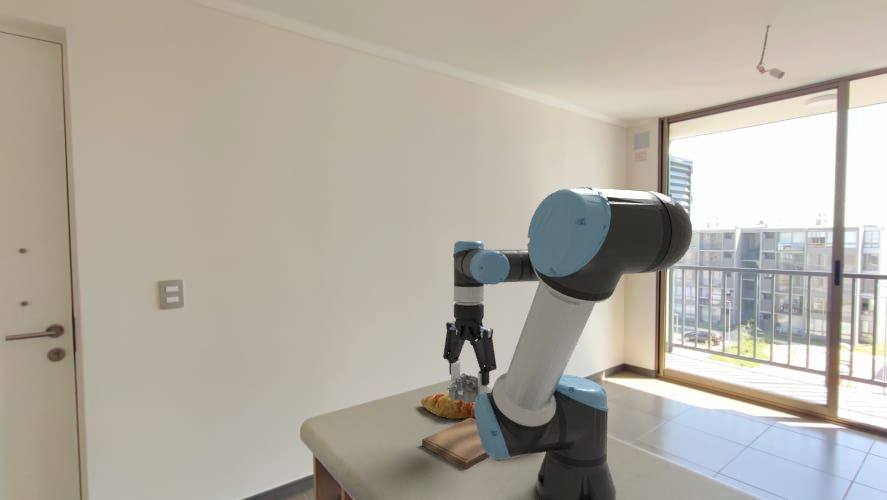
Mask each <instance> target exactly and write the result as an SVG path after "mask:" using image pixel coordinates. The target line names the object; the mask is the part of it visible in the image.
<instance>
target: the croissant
mask: <svg viewBox="0 0 887 500" xmlns="http://www.w3.org/2000/svg"><path fill="white" fill-rule="evenodd" d="M420 404H421V405H422V406H423V407H424V408H425V409H426V410H427V412H431V413H432V414H434V415H436V416H438V417H442V418H446V419H451V420H452V419H455V420H456V419H464V420H467V419H469V418H472V419H475V408H474V406H475V402H474V403H468V404H467V403H464V401H461V400H456V401H452V399H450V398H449V392H447V393H444V392H443V393H436V394H435V395H428V396H426V397H422V398H421V400H420Z"/></svg>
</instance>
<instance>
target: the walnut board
mask: <svg viewBox="0 0 887 500" xmlns="http://www.w3.org/2000/svg"><path fill="white" fill-rule="evenodd" d="M421 445H422V447H424V448H426V449H428V450H430V451H432V452H434V453H435V454H437V455H439V456H441V457H443V458H445V459H447V460H449V461H450V462H452V463H454V464H455V465H458V466H460V467H461V468H463V469H465V470H467V469H469V468H471V467H473V466H474V465H476V464H478V463H480V462H482V461H483V460H485V459H487V458H489V457H490V456H489V455H488V454H487V453H486V451H485V450H484V448H483V445H482V443H481V440H480V437H479V434H478V430H477V425H476V419H475V418H469V419H464V420H462V421H460V422H458V423H456V424H453V425H451V426H449V427H447V428H444V429H441V430H440V431H438V432H436V433H433V434H431V435H429V436H427V437H424V438H422V439H421Z"/></svg>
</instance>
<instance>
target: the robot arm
mask: <svg viewBox="0 0 887 500" xmlns="http://www.w3.org/2000/svg"><path fill="white" fill-rule="evenodd" d="M527 238H528V239H529V242H528V243H527V244H526V246H527V249H488V248H487V249H485V245H484V242H483V241H480V240H475V241H474V240H458V241H456V242H455V243H454V245H453V253H452V257H453V301H454V302H455V303H454V304H453V318H454V319H455V320H454V321H448V322H446V323H445V327H446V335H445V341H444V349H443V355H442V359H444V360H446V361H448V363H449V365H448V368H449V375H450V383H451V382H452V381H454V380H455V379H456V378H459V377H460V376H461V362H460V355H461V353H462V350H463V347H464V346H465V345H464V344H465V342H466V341H468V342H469V343H470V345H471V346H472V348H473V351H474V354H475V357H476V361H477V364H478V368H479V371H477V378H478V396H477V397H476V399H475V402H474V403H475V406H474V408H475V418H474V419H475V420H476V425H477V430H478V434H479V437H480V440H481V443H482V445H483V448H484V450H485V451H486V453H487V454H488V455H489V457H490V458H491V459H493V460H502V459H503V460H504V459H506V460H510V459H514V458H519V457H525V456H529V455H530V456H531V455H536V454H541V453H545V454H544V457H543V459H542V461H541V466H539V467H540V468H539V470H538V474H537V478H536V491H537V494H538V496H539V498H540V499H541V500H617V489H616V486H615V483H614V480H613V476H612V473H611V469H610V466H609V463H608V454H607V452H608V415H609V414H608V412H609V407H608V394H607V391H606V389H605V388H604V387H603V386H601V385H600V384H599V383H597V382H595V381H593V380H590V379H587V378H584V377H581V376H577V375H572V374H564V372H565V370H566V369H567V366H568V363H569V362H570V359H571V357H572V355H573V353H574V350H575V348H576V346H577V345H578V342H579V340H580V337H581V336H582V334H583V331H584V330H585V327H586V325H587V323H588V321H589V318H590V317H591V314H592V312H593V310H594V307H595V305H596V303H597V304H598V303H602V302H605V301H607V300H609V299H610V298H611V297H612V295H613V294H614V292H615V290H616V288H617V286H618V284H619V281H620V279H621V277H622V276H623V275H628V274H629V275H630V274H631V275H634V274H646V273H647V274H648V273H656V272H660V271H663V270H666V269H668V268H671V267H672V266H675V264H677V263H679V262H680V260H682V259H683V257H684V256H685V255H686V254H687V251H688V250H689V249H690V245H691V243H692V239H693V225H692V222H691V219H690V216H689V214H688V212H687V211H686V210H685V208H684V207H683V206H682V204H680V202H678V201H676V200H675V199H674V198H672V197H670V196H669V195H666V194H664V193H660V192H657V191H651V190H650V191H649V190H623V189H603V188H601V189H600V188H594V187H589V186H585V187H583V186H582V187H577V188H562V189H558V190H555V191H554V192H552V193H550V194H549V195H547V196H546V197H545V198H544V199H542V201H541V202H540V203H539V204H538V206H537V207H536V209H535V210H534V213H533V215H532V216H531V219H530V222H529V226H528V230H527ZM518 282H522V283H523V282H538V285H537V288H536V291H535V293H534V296H533V299H532V302H531V305H530V307H529V311H528V313H527V316H526V318H525V322H524V324H523V326H522V330H521V333H520V335H519V338H518V342H517V343H516V346H515V349H514V353H513V355H512V357H511V361H510V363H509V366H508V370H507V372H505V373H503V374H501V375H500V376H498V377H497V378H496V379H495V382H494V384H493V385H492V389H491V392H488V386H489V384H490V372H493V371H495V370H497V360H496V355H495V347H494V340H493V335H494V329H493V328H492V327H491V328H487V327H484V324H483V319H484V317H485V305H484V303H483V302H484V300H485V293H484V292H485V289H484V288H485V287H484V286H485V285H486V286H487V285H492V286H493V285H498V284H500V283H518Z"/></svg>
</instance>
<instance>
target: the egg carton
mask: <svg viewBox="0 0 887 500" xmlns="http://www.w3.org/2000/svg"><path fill="white" fill-rule="evenodd" d="M446 387H447V390H448V393H449V398H450V399H452V401H456V400H461V401H464V403H467V404H468V403H475V399H476V397H477V396H478V377H477V376H473V375H471V374H469V375H468V374H466V373H464V372H463V373H460V377H459V378H456V379H455V380H454V381H452V382H451V381H450V382H449V383H447V385H446Z"/></svg>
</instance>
